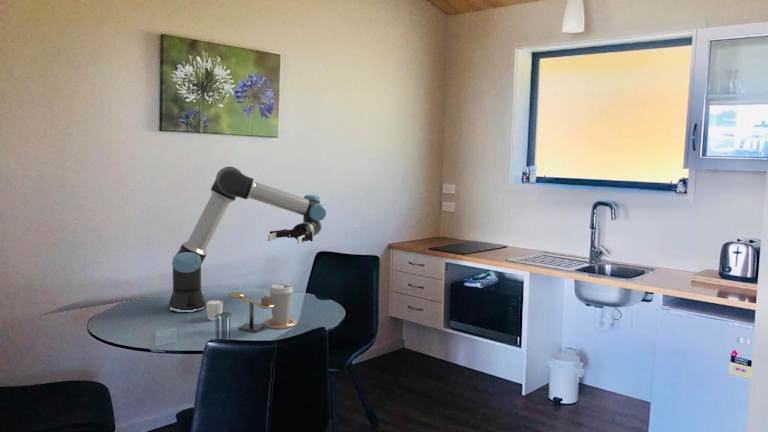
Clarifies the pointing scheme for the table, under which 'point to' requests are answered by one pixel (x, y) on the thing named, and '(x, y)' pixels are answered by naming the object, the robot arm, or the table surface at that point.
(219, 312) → the shot glass
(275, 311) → the coffee cup
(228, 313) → the table surface
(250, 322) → the balance
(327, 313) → the table surface
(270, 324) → the dish
